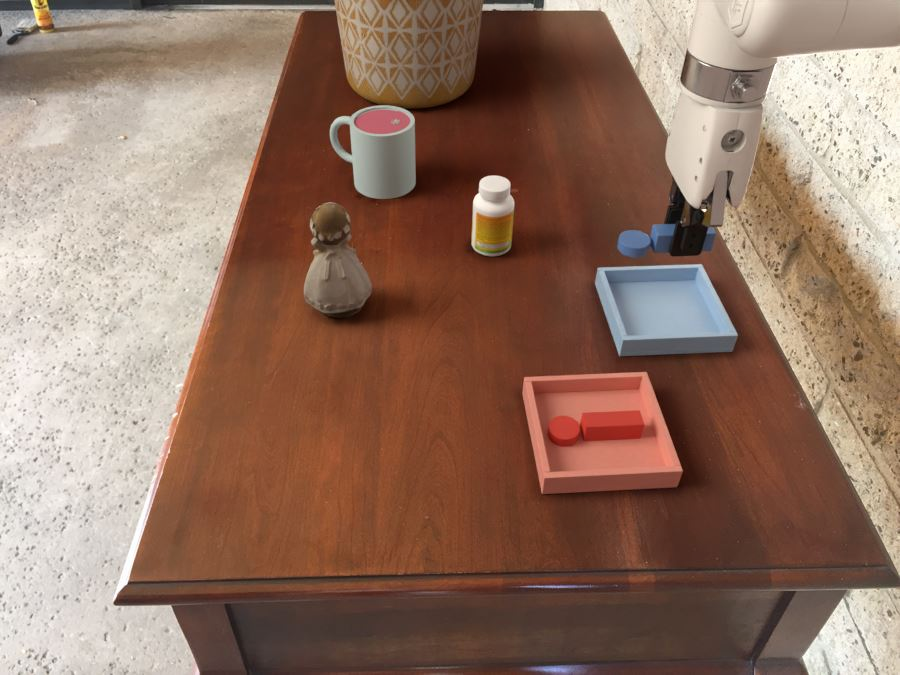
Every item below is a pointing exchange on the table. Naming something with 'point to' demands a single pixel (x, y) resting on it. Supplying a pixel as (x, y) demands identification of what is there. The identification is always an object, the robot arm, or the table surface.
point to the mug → (380, 150)
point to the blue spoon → (654, 240)
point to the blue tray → (664, 310)
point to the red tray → (602, 459)
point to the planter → (409, 49)
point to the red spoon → (596, 427)
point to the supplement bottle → (492, 217)
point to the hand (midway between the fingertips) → (680, 245)
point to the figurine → (335, 266)
